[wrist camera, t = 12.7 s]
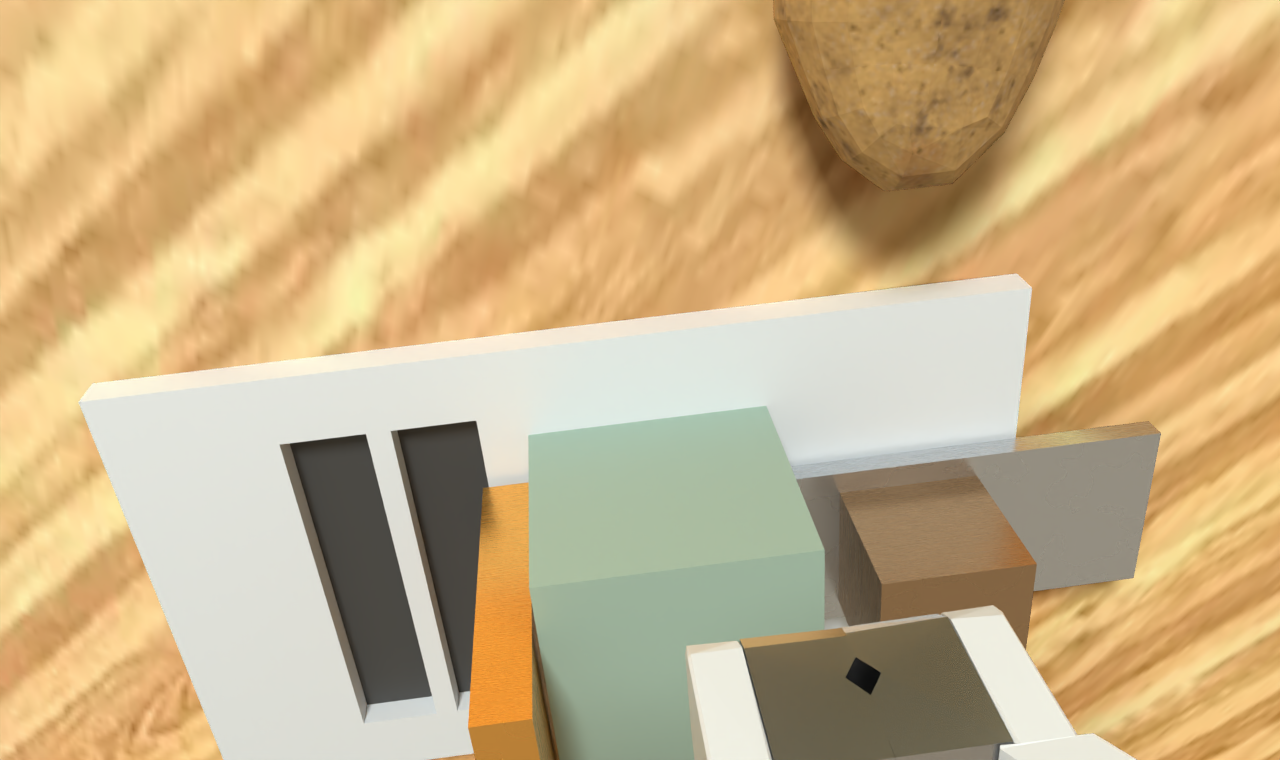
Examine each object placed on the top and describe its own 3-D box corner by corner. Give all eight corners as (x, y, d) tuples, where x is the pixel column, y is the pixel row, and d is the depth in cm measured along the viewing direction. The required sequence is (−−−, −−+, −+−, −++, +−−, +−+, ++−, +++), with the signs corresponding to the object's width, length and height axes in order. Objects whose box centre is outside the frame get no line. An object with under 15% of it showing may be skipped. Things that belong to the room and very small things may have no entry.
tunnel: (766, 405, 43) (824, 550, 35) (773, 653, 50) (823, 824, 42) (528, 435, 43) (528, 588, 34) (568, 681, 50) (577, 859, 41)
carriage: (1152, 401, 45) (1369, 605, 33) (1119, 580, 50) (1298, 812, 38) (483, 485, 44) (467, 727, 32) (517, 660, 48) (514, 925, 37)
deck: (1016, 273, 43) (1032, 288, 42) (977, 662, 54) (988, 683, 53) (92, 383, 42) (78, 401, 40) (241, 761, 52) (234, 786, 51)
